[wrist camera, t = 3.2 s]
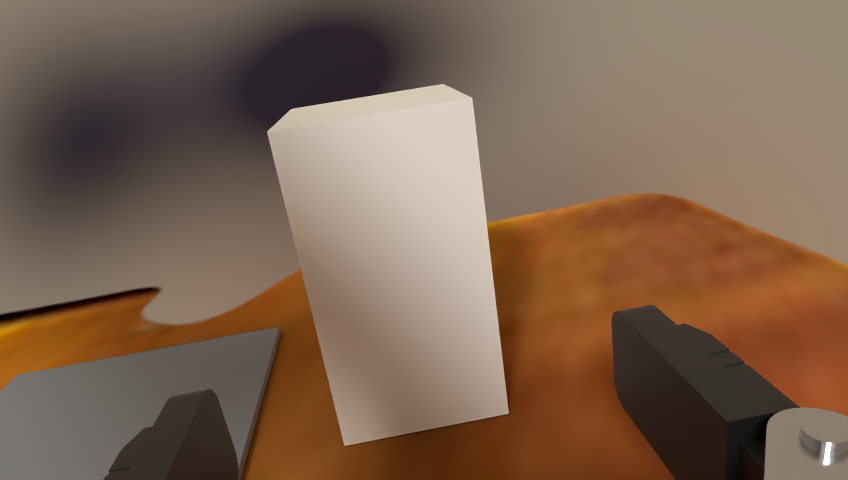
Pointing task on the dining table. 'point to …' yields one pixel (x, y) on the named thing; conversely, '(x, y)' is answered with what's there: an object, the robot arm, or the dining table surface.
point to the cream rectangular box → (395, 258)
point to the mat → (126, 404)
